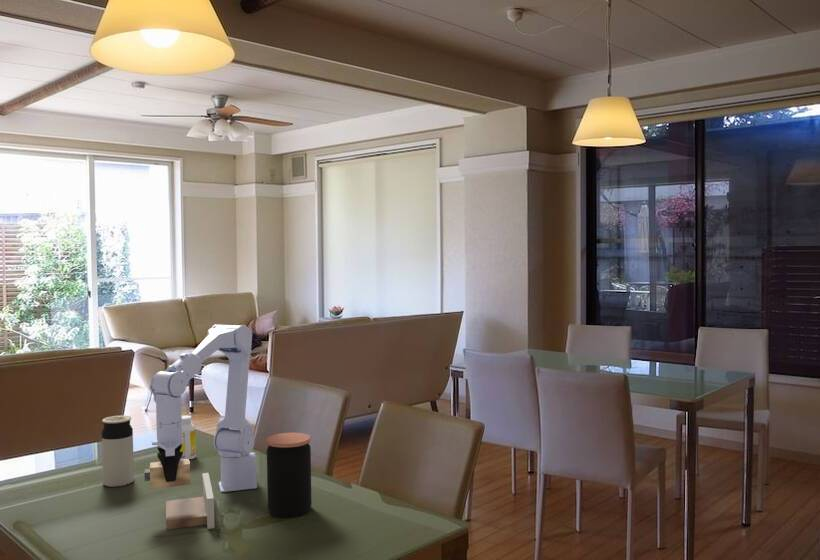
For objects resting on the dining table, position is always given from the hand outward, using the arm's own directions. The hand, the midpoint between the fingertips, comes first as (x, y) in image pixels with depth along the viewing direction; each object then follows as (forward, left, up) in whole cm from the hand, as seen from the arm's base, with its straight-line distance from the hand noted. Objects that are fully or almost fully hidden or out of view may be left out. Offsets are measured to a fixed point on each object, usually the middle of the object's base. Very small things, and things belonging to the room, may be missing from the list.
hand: (170, 478), depth 171 cm
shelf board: (-9, 0, -10) cm, 13 cm away
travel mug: (+13, -33, -10) cm, 37 cm away
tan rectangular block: (0, 0, -1) cm, 1 cm away
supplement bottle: (-5, -51, -10) cm, 52 cm away
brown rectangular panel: (-3, 0, -10) cm, 10 cm away
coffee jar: (-28, +5, -10) cm, 30 cm away
